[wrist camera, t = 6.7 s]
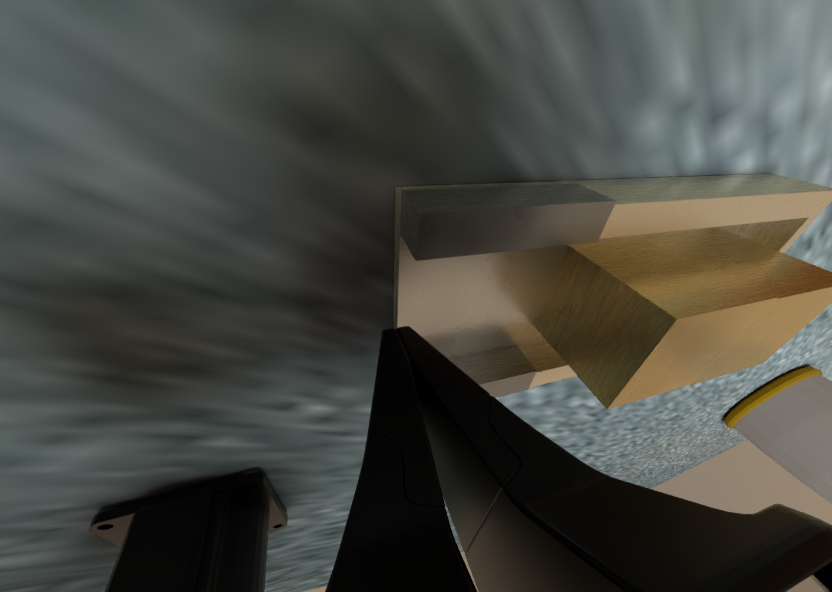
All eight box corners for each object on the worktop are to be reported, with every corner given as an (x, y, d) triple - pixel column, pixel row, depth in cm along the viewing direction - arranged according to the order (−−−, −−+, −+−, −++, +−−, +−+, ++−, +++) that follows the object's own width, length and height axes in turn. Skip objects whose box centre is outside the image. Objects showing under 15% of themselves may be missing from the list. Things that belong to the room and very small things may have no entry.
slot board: (392, 376, 13) (404, 420, 11) (395, 183, 8) (418, 212, 6) (662, 320, 17) (699, 345, 16) (773, 171, 12) (843, 187, 11)
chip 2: (670, 302, 15) (762, 363, 12) (607, 315, 14) (692, 384, 11) (723, 229, 13) (855, 281, 10) (653, 237, 12) (777, 299, 9)
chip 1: (608, 314, 14) (692, 383, 11) (535, 328, 13) (607, 409, 10) (653, 236, 12) (778, 297, 9) (569, 245, 11) (676, 319, 8)
